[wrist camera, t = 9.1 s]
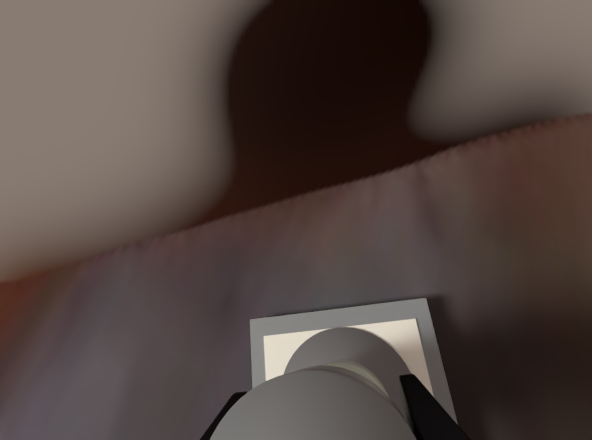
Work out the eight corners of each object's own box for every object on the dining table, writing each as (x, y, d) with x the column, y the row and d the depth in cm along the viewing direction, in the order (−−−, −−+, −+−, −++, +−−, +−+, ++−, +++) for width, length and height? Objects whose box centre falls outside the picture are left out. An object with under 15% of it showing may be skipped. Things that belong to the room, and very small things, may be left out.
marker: (387, 480, 13) (441, 785, 4) (290, 447, 14) (156, 626, 5) (398, 370, 14) (457, 407, 5) (309, 348, 15) (231, 348, 6)
